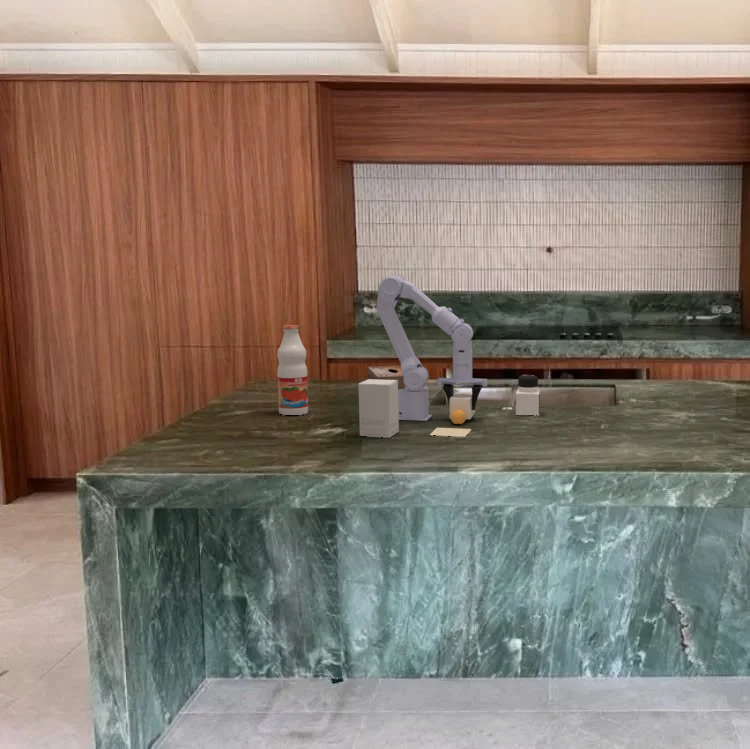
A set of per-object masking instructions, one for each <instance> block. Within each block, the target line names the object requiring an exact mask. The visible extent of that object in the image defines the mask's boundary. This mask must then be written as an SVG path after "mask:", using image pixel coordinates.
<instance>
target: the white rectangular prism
mask: <svg viewBox="0 0 750 749" xmlns="http://www.w3.org/2000/svg"><path fill="white" fill-rule="evenodd" d="M455 410H462V411H463V412H464V413H465V415H466V419H465V420H471V419H472V417H473V416H474V414H475V413H476V409H475V410H472V392H462V391H461V392H457V391H455V392H453V396H452V397H451V398H450V406H449V419H450V420H451V414H452V412H453V411H455Z"/></svg>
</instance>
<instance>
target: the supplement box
mask: <svg viewBox="0 0 750 749" xmlns="http://www.w3.org/2000/svg"><path fill="white" fill-rule="evenodd" d="M357 385H358V410H359V411H358V414H359V415H358V416H359V421H358V422H359V437H360V436H367V437H366V438H381V437H383V438H384V439H390V438H391V437H393V436H394V435H396V434H397V433H399V432H400V426H399V421H400V420H399V417H398V380H377V379H368V378H367V379H366V380H364V381H361V382H359V383H357ZM383 438H382V439H383Z"/></svg>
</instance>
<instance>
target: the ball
mask: <svg viewBox="0 0 750 749" xmlns="http://www.w3.org/2000/svg"><path fill="white" fill-rule="evenodd" d="M450 420H451V421H452V423H453V424H454V425H457V424H460V425H463V423H464V422H466V420H467V419H466V415H465V413H464V412H463V411H462V410H455V411H453V412H452V414H451V419H450Z"/></svg>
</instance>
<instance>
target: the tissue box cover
mask: <svg viewBox="0 0 750 749" xmlns="http://www.w3.org/2000/svg"><path fill="white" fill-rule="evenodd" d="M403 378H404V375H403V372H402V370H401V365H384V366H383V365H381V366H379V365H377V366H375V365H374V366H367V380H368V379H377V380H398V390H399V389H404V387H406V386H405V384H404V381H403Z"/></svg>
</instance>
